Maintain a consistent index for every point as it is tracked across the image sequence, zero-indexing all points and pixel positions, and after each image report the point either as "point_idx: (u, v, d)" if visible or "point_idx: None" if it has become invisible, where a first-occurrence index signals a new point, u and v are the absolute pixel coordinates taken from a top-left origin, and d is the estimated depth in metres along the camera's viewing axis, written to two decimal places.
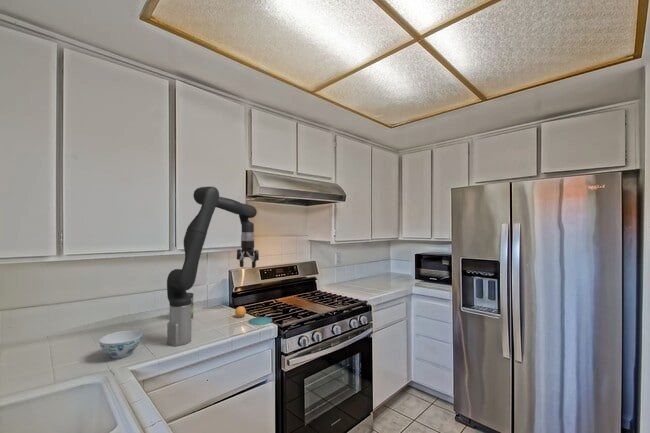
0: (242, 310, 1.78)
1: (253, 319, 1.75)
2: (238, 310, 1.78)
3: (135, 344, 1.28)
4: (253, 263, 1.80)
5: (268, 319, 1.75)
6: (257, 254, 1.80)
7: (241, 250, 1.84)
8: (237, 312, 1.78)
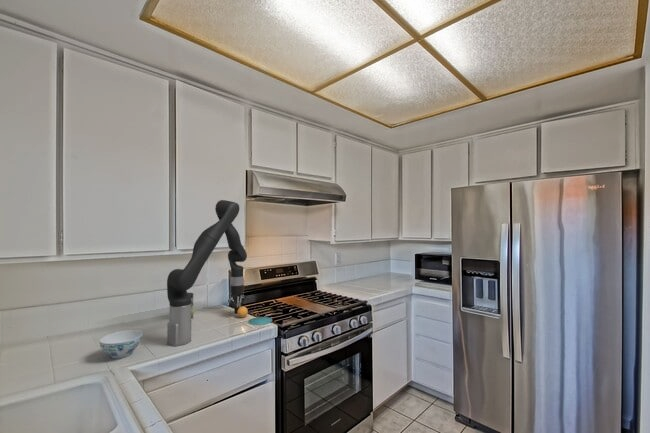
0: (244, 312, 1.78)
1: (253, 319, 1.75)
2: (241, 311, 1.77)
3: (135, 344, 1.28)
4: None
5: (268, 319, 1.75)
6: None
7: (233, 297, 1.78)
8: (239, 312, 1.77)
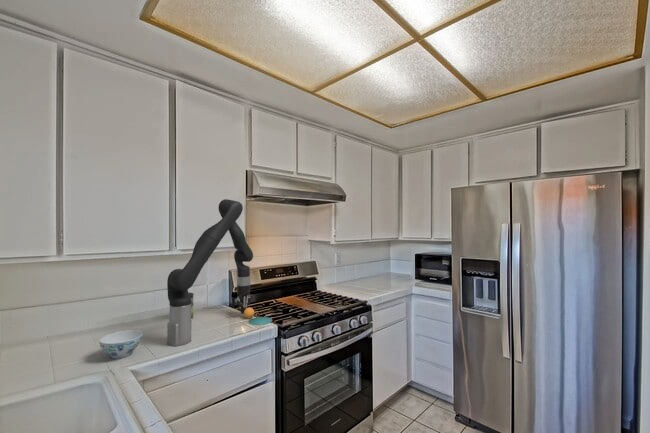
0: (250, 316, 1.76)
1: (253, 319, 1.75)
2: (248, 314, 1.75)
3: (135, 344, 1.28)
4: (245, 308, 1.80)
5: (268, 319, 1.75)
6: None
7: (240, 297, 1.76)
8: (246, 314, 1.75)
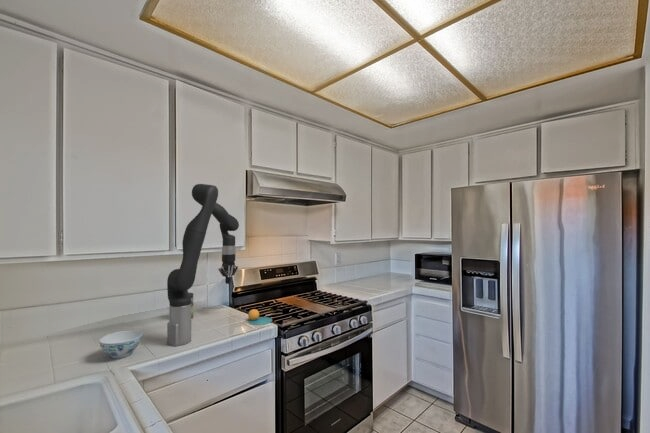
0: None
1: None
2: None
3: (135, 344, 1.28)
4: None
5: (268, 319, 1.75)
6: None
7: (224, 266, 1.75)
8: (249, 318, 1.73)
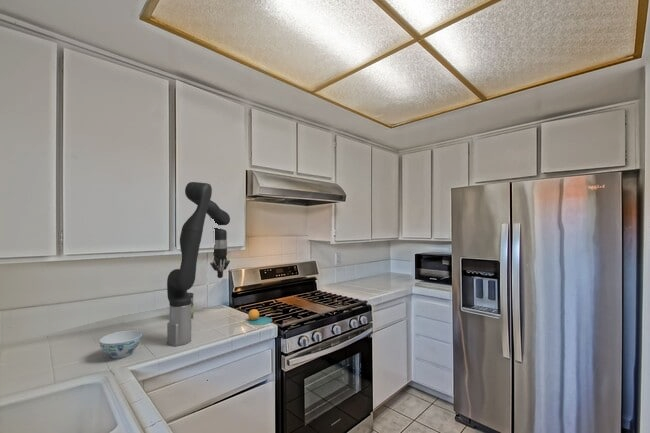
0: None
1: None
2: None
3: (135, 344, 1.28)
4: None
5: (268, 319, 1.75)
6: None
7: (216, 260, 1.75)
8: (249, 318, 1.73)
